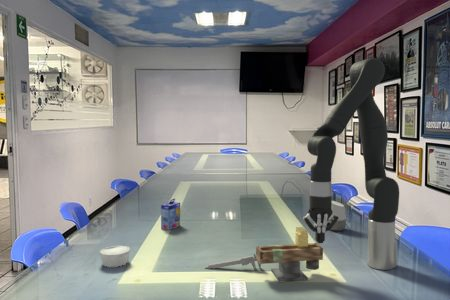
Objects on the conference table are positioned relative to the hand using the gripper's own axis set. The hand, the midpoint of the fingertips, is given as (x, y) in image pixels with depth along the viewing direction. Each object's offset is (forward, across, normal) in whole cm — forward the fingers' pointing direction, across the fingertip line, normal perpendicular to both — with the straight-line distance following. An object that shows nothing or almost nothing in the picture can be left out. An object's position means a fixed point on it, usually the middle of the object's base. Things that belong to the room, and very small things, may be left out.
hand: (319, 242), depth 140 cm
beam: (+11, +11, 0) cm, 16 cm away
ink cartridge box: (+11, +50, -69) cm, 86 cm away
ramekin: (+12, +72, -23) cm, 77 cm away
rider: (+4, +7, 0) cm, 7 cm away
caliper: (+12, +29, -10) cm, 33 cm away
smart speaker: (+11, -29, -50) cm, 59 cm away
